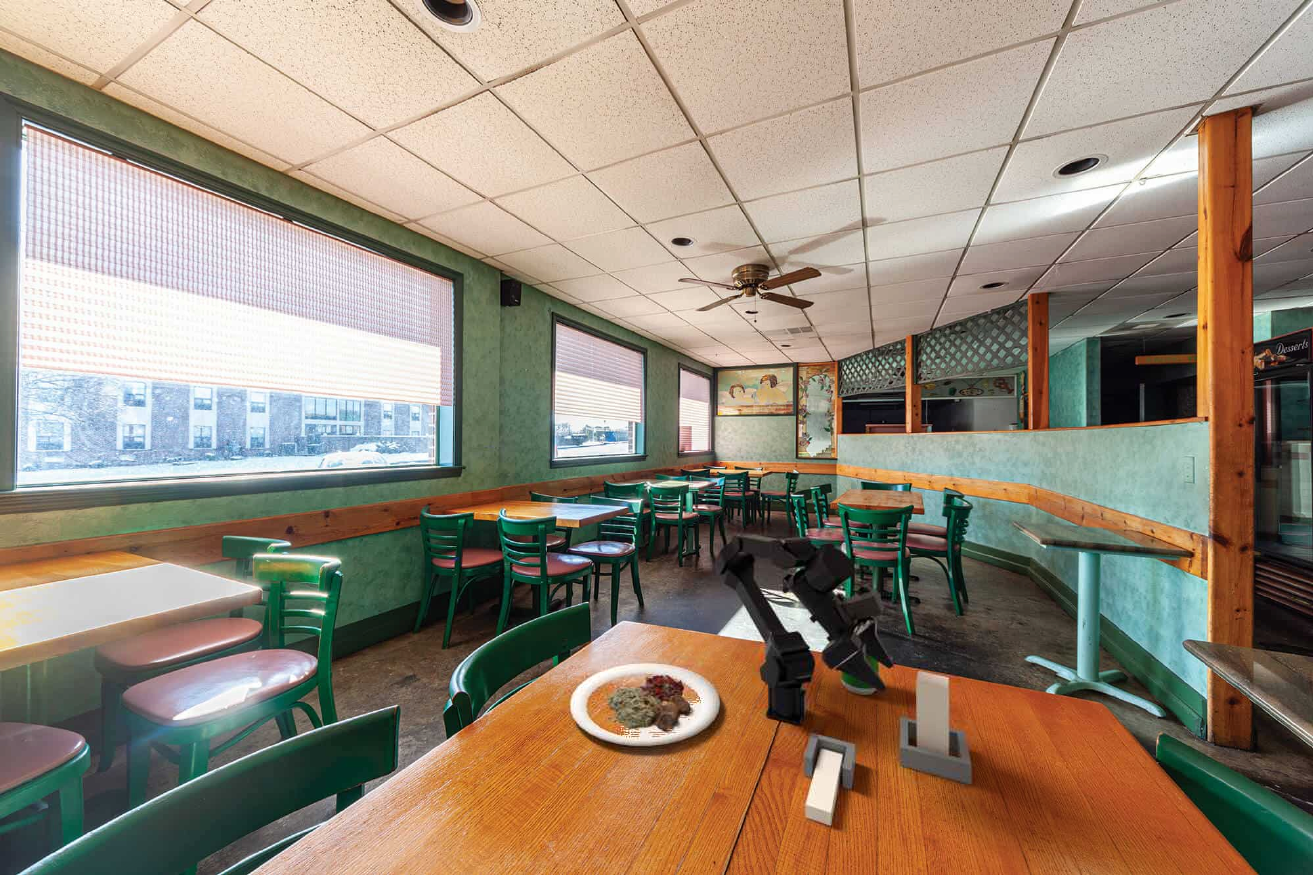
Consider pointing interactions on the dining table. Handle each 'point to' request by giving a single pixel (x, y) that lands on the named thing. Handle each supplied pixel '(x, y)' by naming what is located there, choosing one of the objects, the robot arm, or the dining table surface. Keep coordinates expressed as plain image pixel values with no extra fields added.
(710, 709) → the plated food
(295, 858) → the dining table surface
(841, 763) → the cap with slat
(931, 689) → the white rectangular block
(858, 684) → the soda can
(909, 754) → the grey square frame
